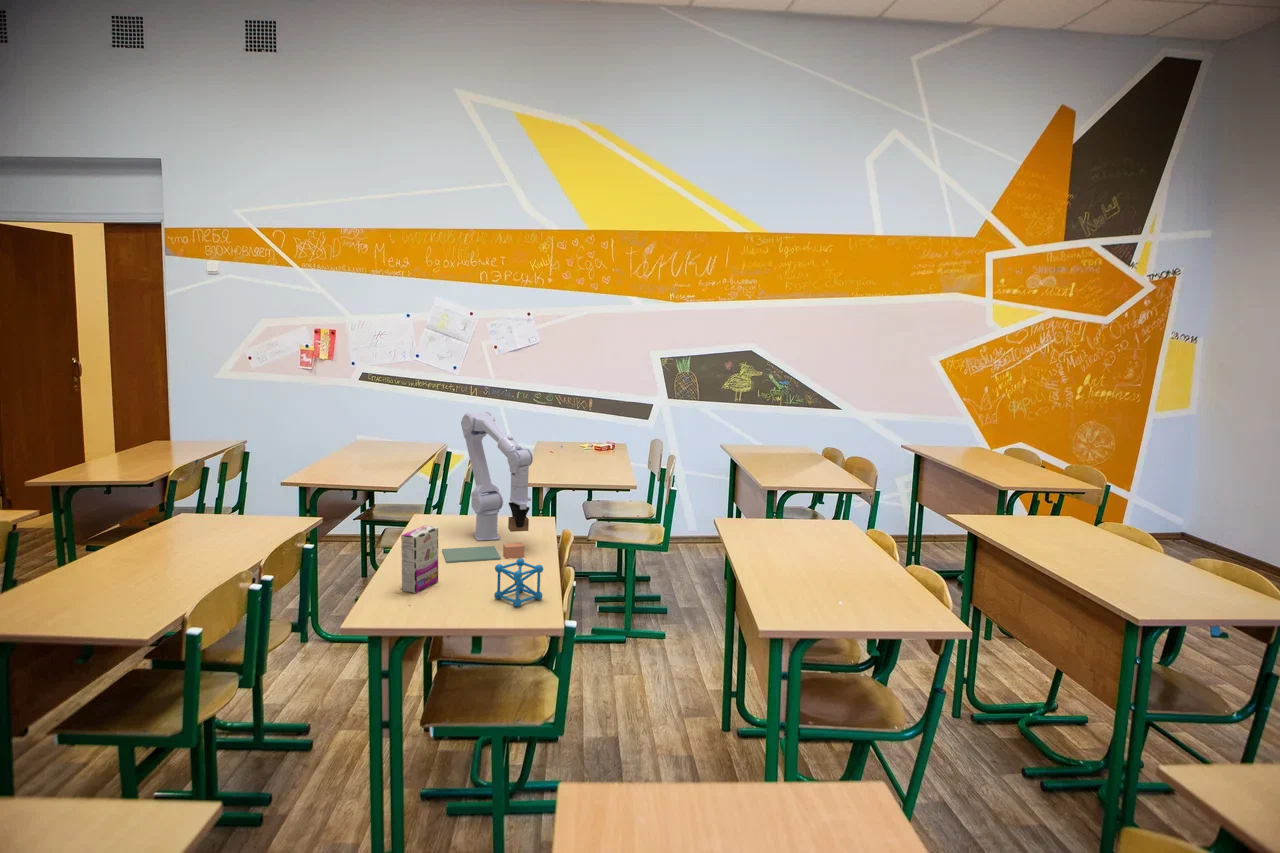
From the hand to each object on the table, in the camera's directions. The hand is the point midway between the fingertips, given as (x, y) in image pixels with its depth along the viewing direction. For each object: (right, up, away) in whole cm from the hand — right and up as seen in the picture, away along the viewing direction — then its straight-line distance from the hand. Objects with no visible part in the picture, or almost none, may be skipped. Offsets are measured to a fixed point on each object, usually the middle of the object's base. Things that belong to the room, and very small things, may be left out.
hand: (518, 525), depth 255 cm
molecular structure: (+7, -15, -45) cm, 48 cm away
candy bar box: (-22, -13, -39) cm, 46 cm away
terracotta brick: (0, -9, -7) cm, 12 cm away
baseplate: (-14, -9, -8) cm, 18 cm away
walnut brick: (0, -2, 0) cm, 2 cm away
